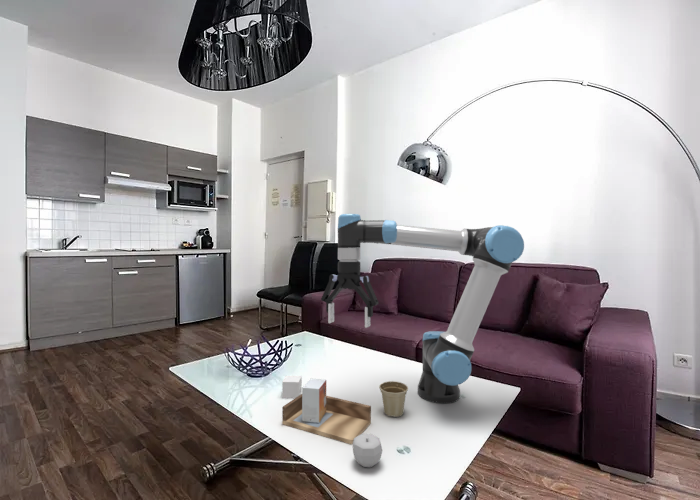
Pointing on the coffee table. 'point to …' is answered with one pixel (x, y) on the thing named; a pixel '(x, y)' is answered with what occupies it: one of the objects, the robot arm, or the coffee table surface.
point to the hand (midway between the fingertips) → (348, 324)
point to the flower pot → (393, 397)
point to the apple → (367, 449)
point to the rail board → (331, 419)
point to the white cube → (291, 386)
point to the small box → (314, 400)
